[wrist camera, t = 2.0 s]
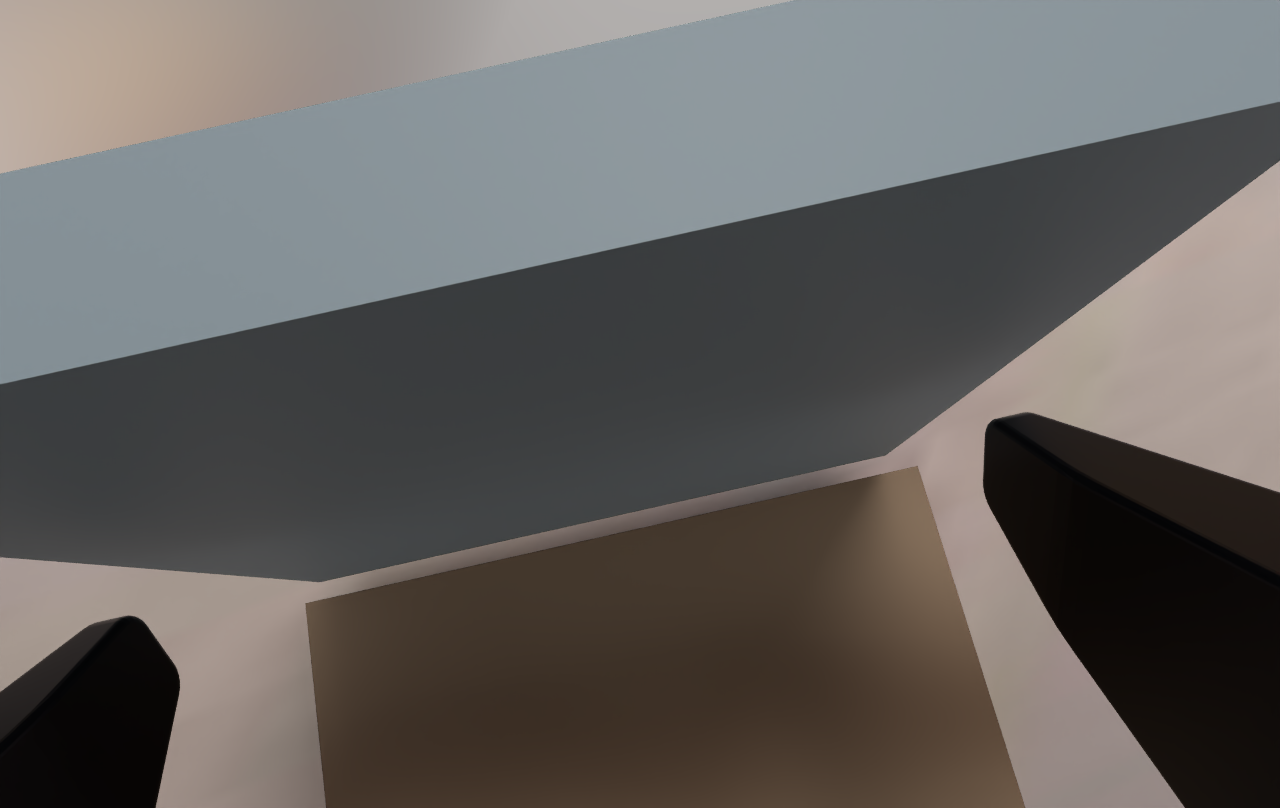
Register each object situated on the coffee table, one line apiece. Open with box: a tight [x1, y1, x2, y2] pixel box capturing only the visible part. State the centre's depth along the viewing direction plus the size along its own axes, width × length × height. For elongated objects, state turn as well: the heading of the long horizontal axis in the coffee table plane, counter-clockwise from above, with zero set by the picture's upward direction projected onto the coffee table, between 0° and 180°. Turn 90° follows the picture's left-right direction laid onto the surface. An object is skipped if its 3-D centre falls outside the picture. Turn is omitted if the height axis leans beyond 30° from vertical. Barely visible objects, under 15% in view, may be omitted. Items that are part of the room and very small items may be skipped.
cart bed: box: [305, 466, 1025, 808], centre depth 14 cm, size 8×11×2 cm
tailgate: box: [0, 0, 1280, 582], centre depth 9 cm, size 2×10×10 cm, turn 102°
